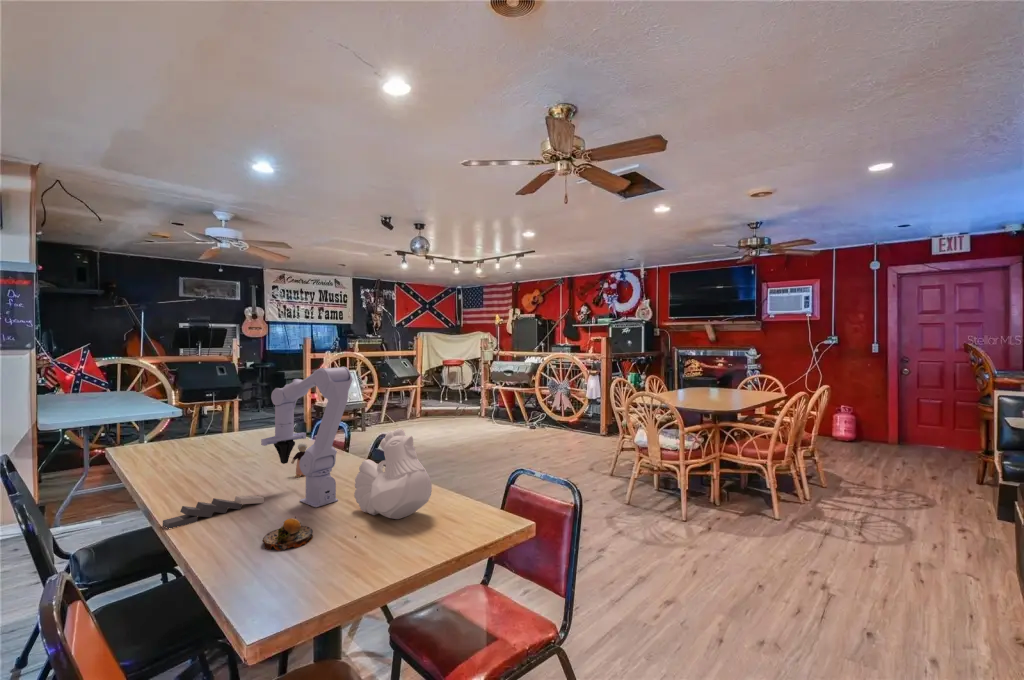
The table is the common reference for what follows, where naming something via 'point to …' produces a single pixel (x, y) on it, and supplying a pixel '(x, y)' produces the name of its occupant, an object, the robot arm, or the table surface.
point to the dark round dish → (288, 536)
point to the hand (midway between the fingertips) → (284, 463)
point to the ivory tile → (249, 499)
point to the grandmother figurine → (298, 456)
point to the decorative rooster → (393, 480)
